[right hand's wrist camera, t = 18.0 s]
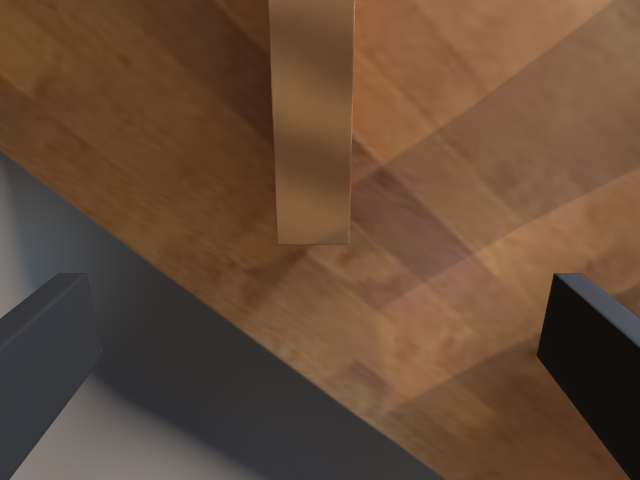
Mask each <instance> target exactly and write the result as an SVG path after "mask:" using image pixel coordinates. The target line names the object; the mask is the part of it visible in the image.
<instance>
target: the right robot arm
mask: <svg viewBox="0 0 640 480" xmlns="http://www.w3.org/2000/svg"><path fill="white" fill-rule="evenodd" d="M102 357H103V352H102V347H101V342H100V338H99V333H98V328H97V323H96V318H95V314H94V309H93V304H92V299H91V295H90V290H89V285H88V280H87V276H86V273H59V274H57V275H56V276H55V277H53V278H52V279H51V280H50V281H48V282H47V283H46V284H44V285H43V286H42V287H40V288H39V289H38V290H37V291H35V292H34V293H33V294H31V295H30V296H29V297H28V298H26V299H25V300H24V301H22V302H21V303H20V304H19V305H17V306H16V307H15V308H13V309H12V310H11V311H10V312H8V313H7V314H6V315H5V316H3V317H2V318H1V319H0V480H9V479H10V478H11V477H12V475H13V474H14V473H15V471H16V470H17V469H18V468H19V466H20V465H21V464H22V462H23V461H24V460H25V458H26V457H27V456H28V454H29V453H30V452H31V450H32V449H33V448H34V446H35V445H36V444H37V443H38V441H39V440H40V439H41V437H42V436H43V435H44V433H45V432H46V431H47V429H48V428H49V427H50V425H51V424H52V423H53V421H54V420H55V419H56V417H57V416H58V415H59V414H60V412H61V411H62V410H63V408H64V407H65V406H66V404H67V403H68V402H69V400H70V399H71V398H72V396H73V395H74V394H75V392H76V391H77V390H78V388H79V387H80V386H81V385H82V383H83V382H84V381H85V379H86V378H87V377H88V375H89V374H90V373H91V371H92V370H93V369H94V367H95V366H96V365H97V364H98V362H99V361H100V360H101V358H102ZM537 357H538V358H539V360H540V361H541V362H542V364H543V365H544V366H545V367H546V369H547V370H548V371H549V373H550V374H551V375H552V377H553V378H554V379H555V381H556V382H557V383H558V385H559V386H560V387H561V389H562V390H563V391H564V393H565V394H566V395H567V396H568V398H569V399H570V400H571V402H572V403H573V404H574V406H575V407H576V408H577V410H578V411H579V412H580V414H581V415H582V416H583V418H584V419H585V420H586V421H587V423H588V424H589V425H590V427H591V428H592V429H593V431H594V432H595V433H596V435H597V436H598V437H599V439H600V440H601V441H602V443H603V444H604V445H605V446H606V448H607V449H608V450H609V452H610V453H611V454H612V456H613V457H614V458H615V460H616V461H617V462H618V464H619V465H620V466H621V468H622V469H623V470H624V472H625V473H626V474H627V475H628V477H629V478H630V479H631V480H640V319H639V318H638V317H637V316H636V315H634V314H633V313H632V312H630V311H629V310H628V309H627V308H625V307H624V306H623V305H621V304H620V303H619V302H618V301H616V300H615V299H614V298H612V297H611V296H610V295H609V294H607V293H606V292H605V291H603V290H602V289H601V288H600V287H598V286H597V285H596V284H594V283H593V282H592V281H591V280H589V279H588V278H587V277H585V276H584V275H583V274H581V273H554V276H553V280H552V285H551V290H550V295H549V299H548V304H547V309H546V314H545V318H544V323H543V328H542V333H541V337H540V342H539V347H538V352H537Z"/></svg>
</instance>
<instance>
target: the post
mask: <svg viewBox="0 0 640 480" xmlns="http://www.w3.org/2000/svg"><path fill="white" fill-rule="evenodd" d="M268 17H269V42H270V68H271V93H272V119H273V144H274V170H275V195H276V221H277V244H278V245H328V244H349V237H350V194H351V151H352V108H353V64H354V21H355V0H268Z"/></svg>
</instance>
